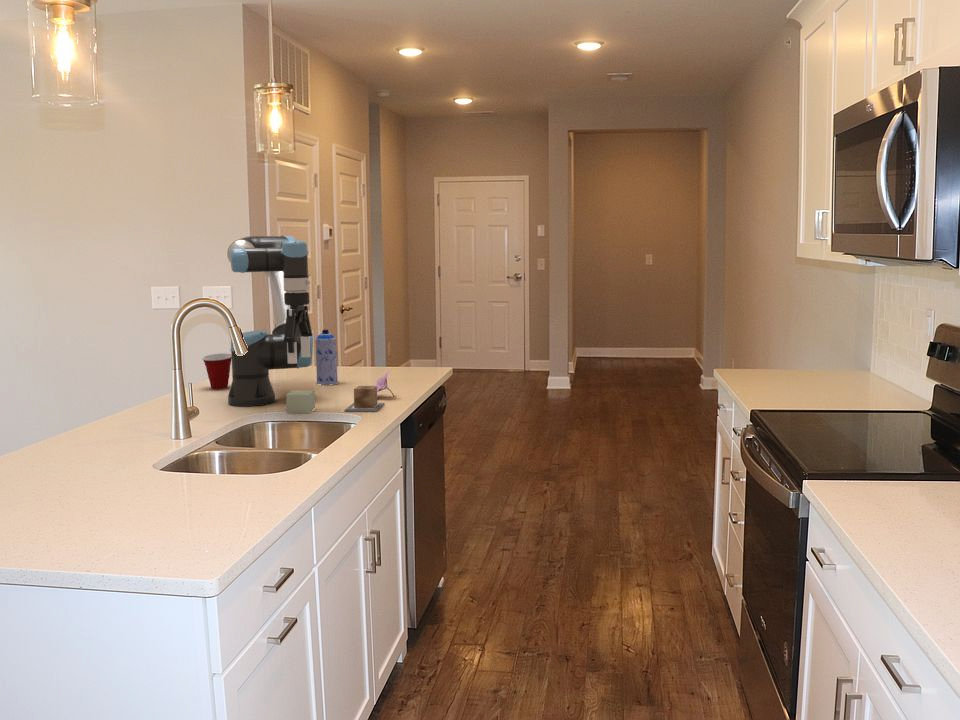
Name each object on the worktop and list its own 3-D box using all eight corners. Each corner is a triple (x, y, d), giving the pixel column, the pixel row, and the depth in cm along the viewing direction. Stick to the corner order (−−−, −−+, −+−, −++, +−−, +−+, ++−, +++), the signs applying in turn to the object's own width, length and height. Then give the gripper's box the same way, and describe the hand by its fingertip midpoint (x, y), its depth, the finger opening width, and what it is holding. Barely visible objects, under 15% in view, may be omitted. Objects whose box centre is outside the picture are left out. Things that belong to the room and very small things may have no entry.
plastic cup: (197, 389, 318) (195, 356, 316) (215, 384, 328) (213, 352, 326) (223, 391, 314) (221, 357, 313) (240, 386, 324) (238, 353, 323)
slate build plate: (344, 411, 276) (344, 409, 276) (354, 404, 287) (354, 402, 287) (376, 412, 274) (376, 410, 274) (384, 404, 286) (384, 402, 286)
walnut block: (354, 407, 278) (353, 389, 277) (359, 404, 284) (358, 385, 283) (373, 408, 277) (372, 389, 277) (377, 404, 283) (376, 385, 282)
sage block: (286, 413, 274) (286, 394, 274) (293, 409, 281) (292, 390, 281) (309, 413, 274) (308, 394, 273) (315, 409, 281) (314, 390, 280)
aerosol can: (342, 383, 328) (340, 329, 325) (325, 386, 322) (323, 331, 320) (329, 381, 333) (327, 328, 331) (312, 383, 328) (310, 329, 325)
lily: (380, 396, 307) (366, 373, 304) (409, 384, 304) (395, 361, 300) (371, 413, 296) (357, 390, 293) (402, 401, 293) (387, 377, 290)
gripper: (295, 294, 260) (298, 366, 263) (319, 289, 284) (322, 354, 287) (271, 294, 260) (274, 366, 263) (297, 289, 285) (299, 354, 288)
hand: (299, 360), depth 275 cm, fingers open, 13 cm apart
